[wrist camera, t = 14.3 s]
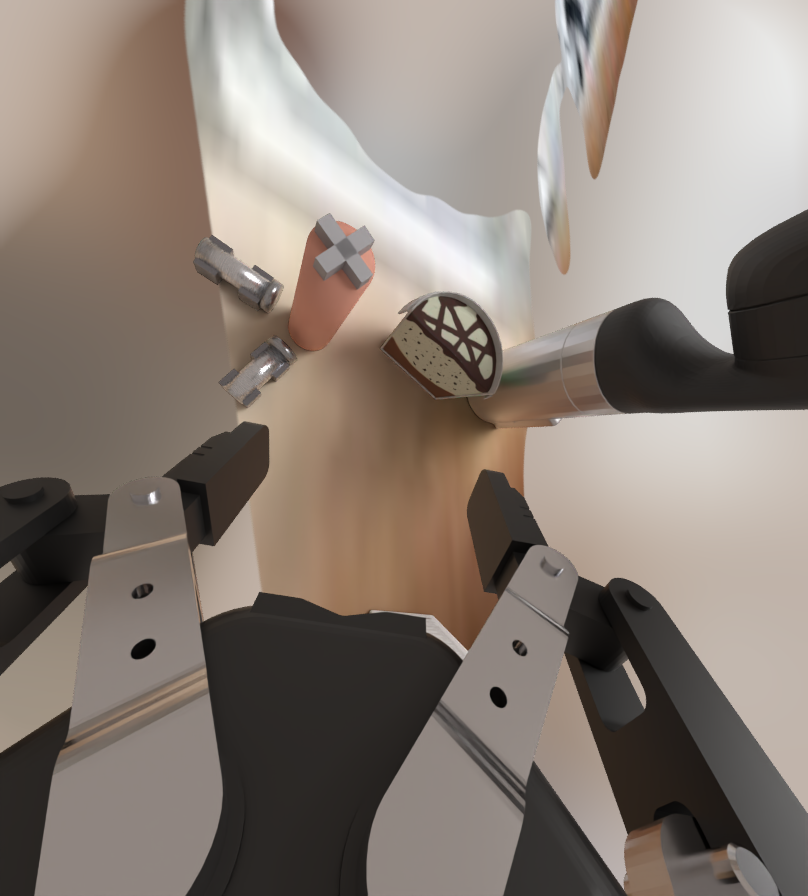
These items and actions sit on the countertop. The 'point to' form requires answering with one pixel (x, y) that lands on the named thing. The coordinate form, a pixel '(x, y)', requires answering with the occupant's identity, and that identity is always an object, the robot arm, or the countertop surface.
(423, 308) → the food container
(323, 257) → the pink capped rod
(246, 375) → the shaft
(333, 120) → the countertop surface
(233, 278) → the shaft
